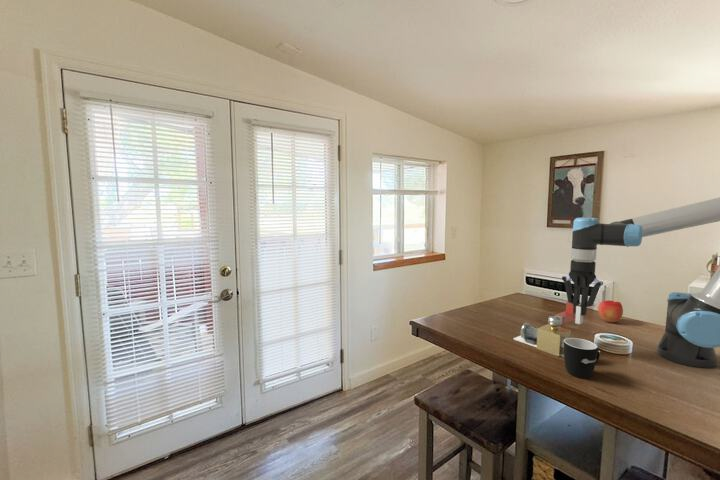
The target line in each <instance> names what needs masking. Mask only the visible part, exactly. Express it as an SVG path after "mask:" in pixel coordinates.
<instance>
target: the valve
mask: <svg viewBox="0 0 720 480" xmlns="http://www.w3.org/2000/svg"><path fill="white" fill-rule="evenodd" d="M519 332H520V334H519V336H520V335H521V337H522V338H523V339H526V342H527V343H530V344H532V345H534V344H537V347H536V349H537V350H538V351H542V352H544V353H548V354H551V355H552V356H553V355H554V356H556V357H561V356H560V355H561V354H563V353H564V340H565V339H567V338H571V332H572V331H571V329H568V328H565V327H561V326H551V325H549V324H548V323H547V324H544V325H542V326H540V327H534V326H532V324H531V323H530V322H523V324H522V325H521V328H520V331H519Z"/></svg>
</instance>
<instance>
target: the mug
mask: <svg viewBox="0 0 720 480" xmlns="http://www.w3.org/2000/svg"><path fill="white" fill-rule="evenodd" d="M598 348H599V347H598V345H597V343H595V342H592V341H590V340H588V339H583V338H576V337H570V338H567V339H565V340H564V357H563V358H564V359H563V361H564V365H565V366H564V367H565V370H566V372H567V373H568V374H569V375H570V376H572V377H576V378H579V379H589V378H591V377H592V375H594V371H595V368H596V364H597V363H598V362H599V359H600V357H601V356H600V354H601V353H599V351H600V350H599V349H598Z"/></svg>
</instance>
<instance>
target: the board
mask: <svg viewBox="0 0 720 480" xmlns="http://www.w3.org/2000/svg"><path fill="white" fill-rule="evenodd" d="M513 340H514V341H516V342H520V343H522V344H526V345H528V346H531V347H534V348H537V344H534V345H532V344H530V343H527V342H526V339H523V338H522V337H521V335H520V334H519V335H518V336H516V337H513ZM598 351H599V354H601V351H600V350H598ZM559 357H562V358H564V353H563V354H561V355H560V356H559Z"/></svg>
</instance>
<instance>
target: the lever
mask: <svg viewBox="0 0 720 480" xmlns="http://www.w3.org/2000/svg"><path fill="white" fill-rule="evenodd" d="M573 307H574V305H573V304H572V303H569V302H568V301H567V302H566V304H565V311H561V312H559V313H556V314H555V315H553V316H552V315H550V316H548V320H547V324H549V325H551V326H558V327H561V325H564V324H566V323H569V322H572V321H574V320H575V318H576V314H574V313H573Z"/></svg>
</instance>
